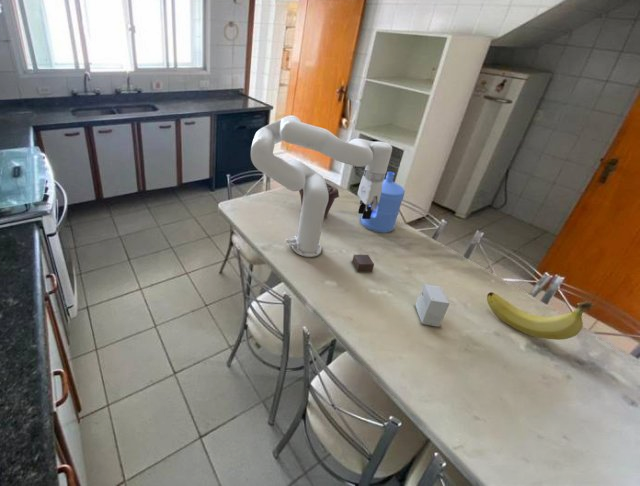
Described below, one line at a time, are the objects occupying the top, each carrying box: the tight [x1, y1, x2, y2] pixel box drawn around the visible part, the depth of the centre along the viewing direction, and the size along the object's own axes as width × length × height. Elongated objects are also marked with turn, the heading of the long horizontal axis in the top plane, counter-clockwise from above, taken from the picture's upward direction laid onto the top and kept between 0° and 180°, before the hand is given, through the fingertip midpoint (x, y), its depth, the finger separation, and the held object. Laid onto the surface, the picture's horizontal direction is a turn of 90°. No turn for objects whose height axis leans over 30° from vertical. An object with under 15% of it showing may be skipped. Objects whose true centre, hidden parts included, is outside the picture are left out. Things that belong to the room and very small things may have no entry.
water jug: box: [360, 171, 406, 234], centre depth 156 cm, size 16×16×28 cm
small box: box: [415, 283, 450, 328], centre depth 109 cm, size 8×6×10 cm
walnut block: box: [351, 254, 375, 273], centre depth 132 cm, size 6×6×4 cm
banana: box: [486, 292, 594, 341], centre depth 104 cm, size 23×6×20 cm, turn 36°
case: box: [298, 182, 340, 220], centre depth 165 cm, size 18×20×18 cm
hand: (364, 215), depth 132 cm, fingers open, 3 cm apart
